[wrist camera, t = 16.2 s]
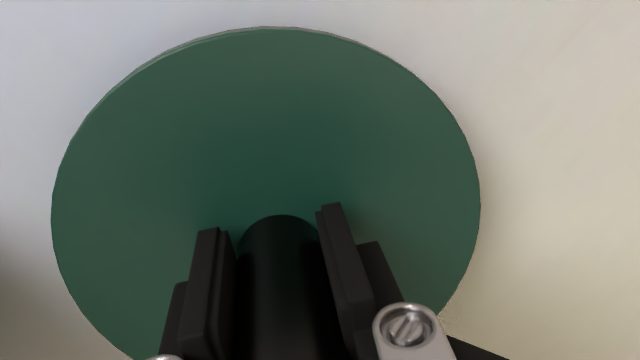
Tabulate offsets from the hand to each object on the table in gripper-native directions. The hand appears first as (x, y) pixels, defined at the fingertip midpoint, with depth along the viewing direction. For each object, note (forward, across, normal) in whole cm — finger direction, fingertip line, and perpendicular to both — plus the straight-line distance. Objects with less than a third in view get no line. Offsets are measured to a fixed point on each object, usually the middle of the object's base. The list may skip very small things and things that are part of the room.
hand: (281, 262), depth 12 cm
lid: (+1, 0, 0) cm, 1 cm away
